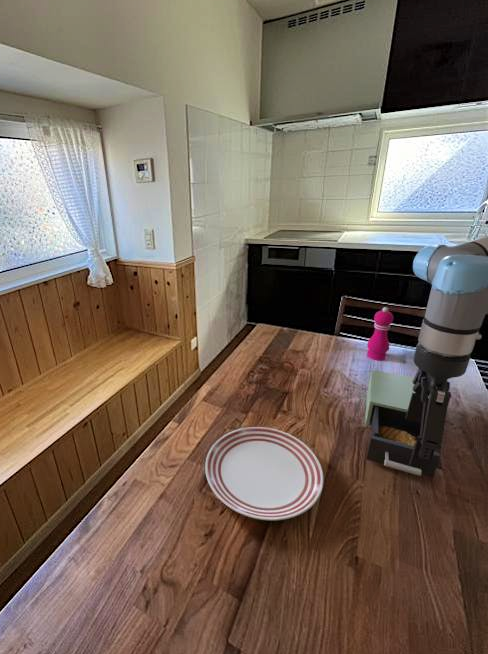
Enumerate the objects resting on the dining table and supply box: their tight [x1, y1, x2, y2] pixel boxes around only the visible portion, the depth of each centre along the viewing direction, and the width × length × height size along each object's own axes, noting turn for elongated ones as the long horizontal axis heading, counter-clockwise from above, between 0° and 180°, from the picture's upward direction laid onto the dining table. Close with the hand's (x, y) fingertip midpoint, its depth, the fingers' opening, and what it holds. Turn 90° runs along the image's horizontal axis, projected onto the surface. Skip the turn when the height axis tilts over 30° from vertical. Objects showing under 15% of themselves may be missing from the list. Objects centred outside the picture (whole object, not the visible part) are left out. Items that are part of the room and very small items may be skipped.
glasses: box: [245, 354, 295, 393], centre depth 117 cm, size 13×13×5 cm
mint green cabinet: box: [364, 369, 429, 429], centre depth 96 cm, size 17×15×9 cm
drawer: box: [365, 405, 441, 480], centre depth 83 cm, size 20×14×7 cm
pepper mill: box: [366, 306, 394, 361], centre depth 123 cm, size 7×7×20 cm
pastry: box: [378, 426, 416, 446], centre depth 85 cm, size 9×7×4 cm
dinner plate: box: [204, 426, 324, 522], centre depth 81 cm, size 28×27×3 cm
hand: (415, 441), depth 66 cm, fingers open, 13 cm apart
